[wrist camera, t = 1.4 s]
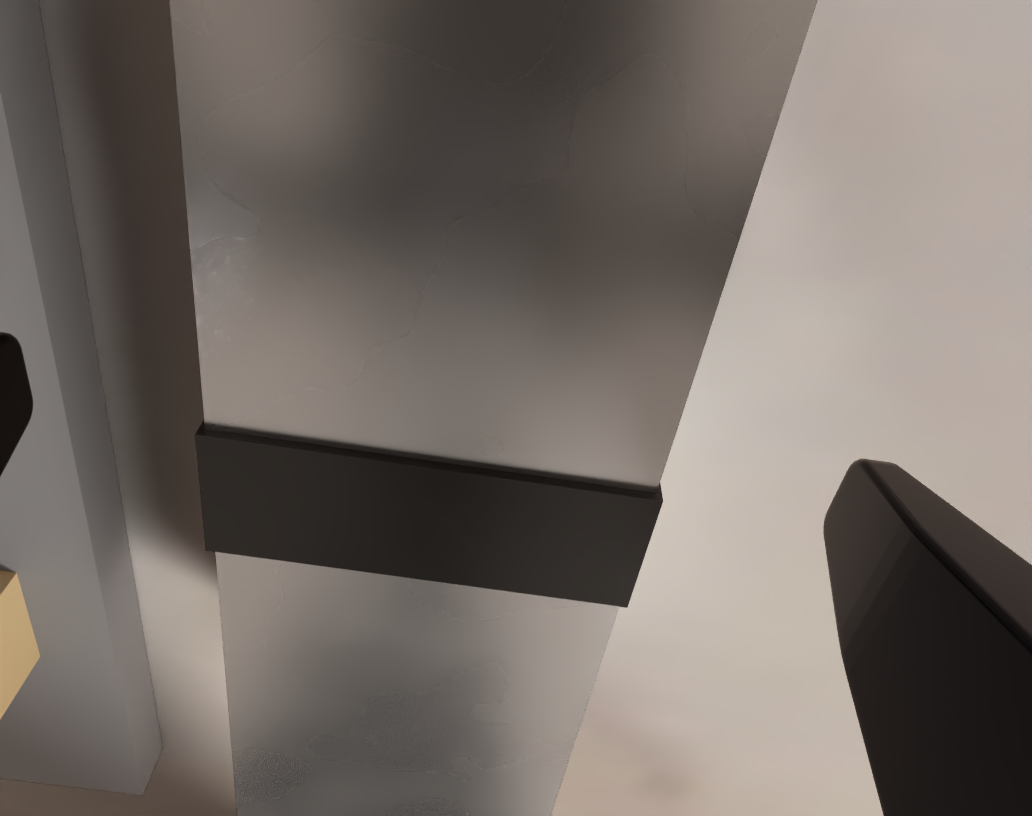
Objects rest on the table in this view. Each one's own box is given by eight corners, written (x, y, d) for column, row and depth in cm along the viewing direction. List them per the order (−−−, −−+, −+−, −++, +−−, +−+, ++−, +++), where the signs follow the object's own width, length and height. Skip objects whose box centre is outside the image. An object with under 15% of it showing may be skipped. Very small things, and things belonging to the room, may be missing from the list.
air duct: (533, 667, 15) (526, 906, 12) (308, 637, 15) (235, 872, 11) (795, -363, 7) (1014, -549, 4) (317, -457, 7) (88, -744, 3)
